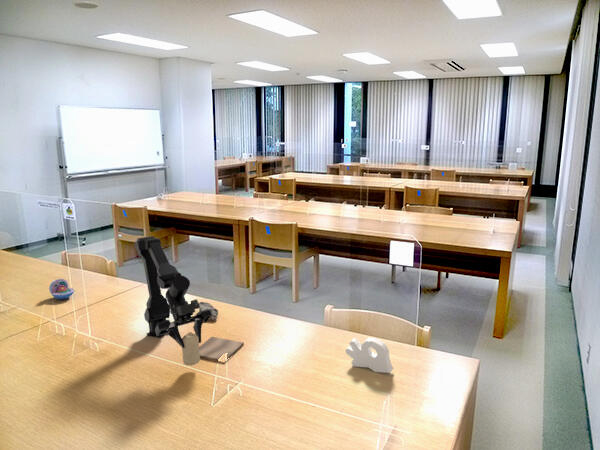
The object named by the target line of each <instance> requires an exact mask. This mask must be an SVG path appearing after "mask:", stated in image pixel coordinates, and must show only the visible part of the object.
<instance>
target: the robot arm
mask: <svg viewBox="0 0 600 450" xmlns="http://www.w3.org/2000/svg"><path fill="white" fill-rule="evenodd" d="M134 249H135V250H136V253H137V255H138V257H140V259H141V260H142V261H143V267H144V268H143V269H144V273H145V278H146V283H147V289H148V290H147V291H148V298H147V302H146V303H145V305H146V309H145V311H144V313H143V315H144V316H143V317H144V320H145V321H146V323H148V329H149V331H148V333H146V336H150V337H155V338H161V337H164V335H165V336H169V337H170V338H171V339H172V340H174V341H175V342H176V343H177V344H178V345H179V346H180V347H181V348H184V343H183V340H182V338H183V337H182V336H181V334H180V332H179V331H180V330H179V327H181V326H183V325H189V324H192V323H193V324H194V325H193V327H192V328H193V331H194V334H195V335H197V336H198V337H199V344H201V343H202V326H203V324H206V323H208V322H209V321H210V320H211V319H210V318H211V317H212V313H211V311H210V310H209V309H206V310H202V311H199V310H198V309H199V303H200V302H199V300H198V299H197V298H196V299H193V300H190V303H189V301H187V300H186V298H185V295H186V293H187V291H188V290H189V289H190V286H191V282H190V279H188V277H186V276H184V275H182V273H181V272H179V271H178V269H177V268H176V266H174V265H172V264H171V263H170V262H169V260H168V258H167V255H166V254H165V251H164V249H163V247H162V243H161V239H160V237H155V236H154V235H150V236H149V235H148V236H144V237H143V236H142V237H138V238H136V241H134ZM163 289H164V290H165V289H167V290H166V291H165V296H164V295H163V294H162V290H163ZM196 310H198V313H197V314H195V315H194V313H196ZM170 314H171V315H172V318H173V321H171V320H170Z"/></svg>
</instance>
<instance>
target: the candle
mask: <svg viewBox="0 0 600 450" xmlns="http://www.w3.org/2000/svg"><path fill="white" fill-rule="evenodd" d="M181 338H182V340H183V343H184V348H182V347H181V348H182V349H181V350H182V362H183V364H184V365H186V366H194V365H197V364H198V363H200V359H201V358H200V354H199V347H200V343H199V337H198V336H197V335H196V334H195V333H194V332H188V333H186V334H185V335H184V336H182V337H181Z"/></svg>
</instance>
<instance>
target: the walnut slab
mask: <svg viewBox="0 0 600 450" xmlns="http://www.w3.org/2000/svg"><path fill="white" fill-rule="evenodd" d="M243 346H244V342H242V341H238V340H234V339H233V340H231V339H226V338H222V337H217V336H210V337H209V338H208V339H207V340H206V341H204V342H203V343H202V344H200V345H199V354H200V359H202V360H203V359H204V360H209V361H212V362H213V361H214V362H218V359H219V358H220V357H221V356H222V355H223V354H225V353H228V354H227V359H228V358H230V357H231V356H232V357H233V356H234V355H235V354H236V353H237V352H238V351H239V350H240V349H242V347H243ZM232 357H231V358H232ZM231 358H230V359H231Z"/></svg>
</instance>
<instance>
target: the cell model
mask: <svg viewBox="0 0 600 450" xmlns="http://www.w3.org/2000/svg"><path fill="white" fill-rule="evenodd" d="M48 288H49V289H48V290H49V294H50V295H51V296H53V297H54V298H55V299H57V300H65V299H66V300H67V299H69V298H71V296H73V294H74V293H75V292H76V290H75V289H74V288H73V287H69V282H68V281H67V280H66V279H64V278H58V279H55V280H53V281H52V282H51V283H50V284H49V287H48Z"/></svg>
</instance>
